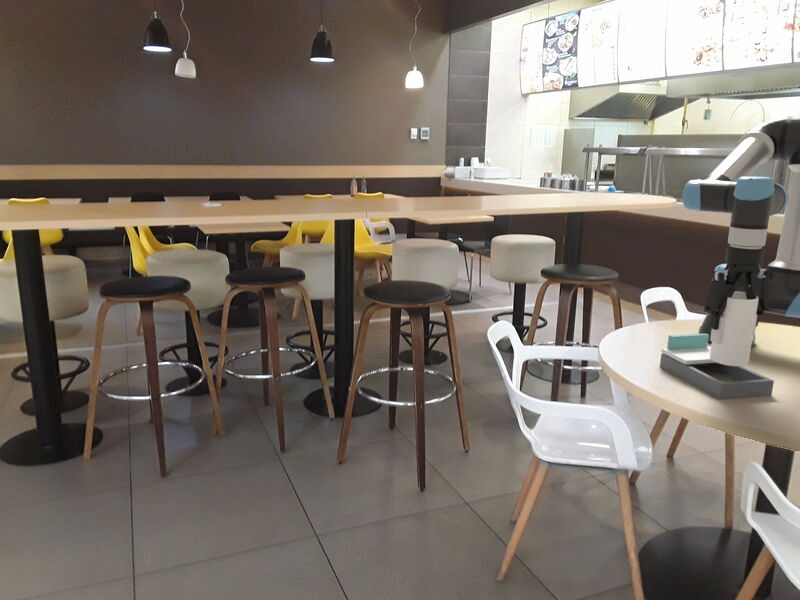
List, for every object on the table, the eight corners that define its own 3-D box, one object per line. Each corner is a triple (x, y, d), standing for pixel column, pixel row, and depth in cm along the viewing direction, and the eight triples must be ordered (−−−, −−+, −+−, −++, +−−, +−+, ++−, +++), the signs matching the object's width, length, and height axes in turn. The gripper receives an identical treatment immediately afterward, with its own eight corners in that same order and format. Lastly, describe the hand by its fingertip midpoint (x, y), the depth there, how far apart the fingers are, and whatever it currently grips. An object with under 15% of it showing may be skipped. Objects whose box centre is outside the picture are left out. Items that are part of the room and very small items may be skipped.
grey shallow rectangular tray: (706, 363, 165) (708, 350, 165) (771, 395, 145) (774, 380, 144) (659, 366, 162) (661, 353, 161) (719, 399, 142) (721, 384, 141)
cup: (747, 368, 143) (757, 301, 139) (707, 362, 147) (716, 296, 143) (749, 358, 150) (759, 293, 146) (712, 352, 154) (720, 289, 150)
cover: (708, 349, 164) (710, 333, 163) (734, 361, 156) (737, 344, 154) (661, 352, 161) (663, 335, 160) (685, 364, 152) (687, 346, 151)
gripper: (771, 241, 147) (757, 333, 153) (694, 244, 143) (682, 339, 149) (798, 247, 140) (781, 342, 146) (717, 250, 136) (703, 349, 142)
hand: (731, 340), depth 147 cm, fingers closed on cup, 8 cm apart
